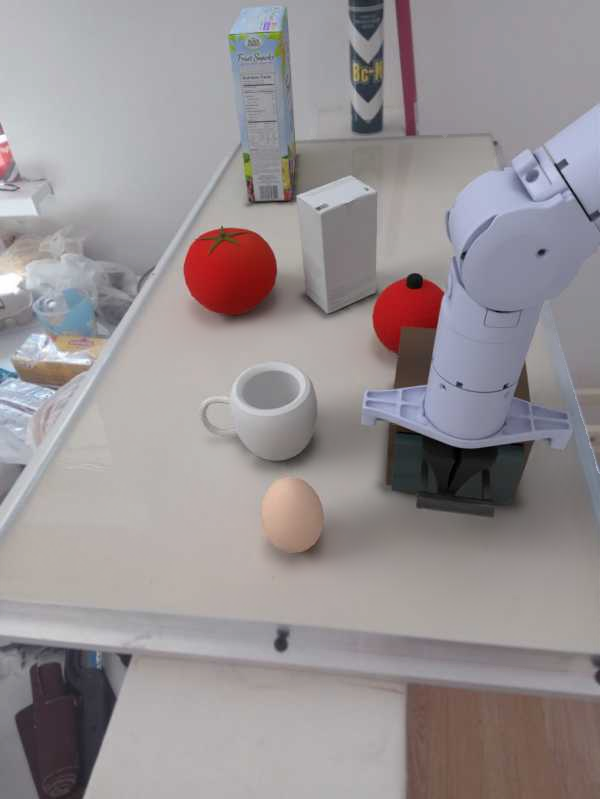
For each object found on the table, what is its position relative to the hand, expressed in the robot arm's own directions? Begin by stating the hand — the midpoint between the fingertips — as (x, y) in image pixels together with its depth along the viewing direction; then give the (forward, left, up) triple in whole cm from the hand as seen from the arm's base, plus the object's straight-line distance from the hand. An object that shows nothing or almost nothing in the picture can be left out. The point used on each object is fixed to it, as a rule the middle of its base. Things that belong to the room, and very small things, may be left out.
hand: (445, 486), depth 45 cm
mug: (+18, -7, -5) cm, 20 cm away
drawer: (-1, -6, -4) cm, 7 cm away
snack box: (+33, -71, -5) cm, 79 cm away
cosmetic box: (+14, -34, -5) cm, 37 cm away
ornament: (+4, -24, -5) cm, 25 cm away
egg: (+12, +4, -5) cm, 14 cm away
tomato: (+28, -31, -5) cm, 42 cm away
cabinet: (-1, -10, -5) cm, 11 cm away
